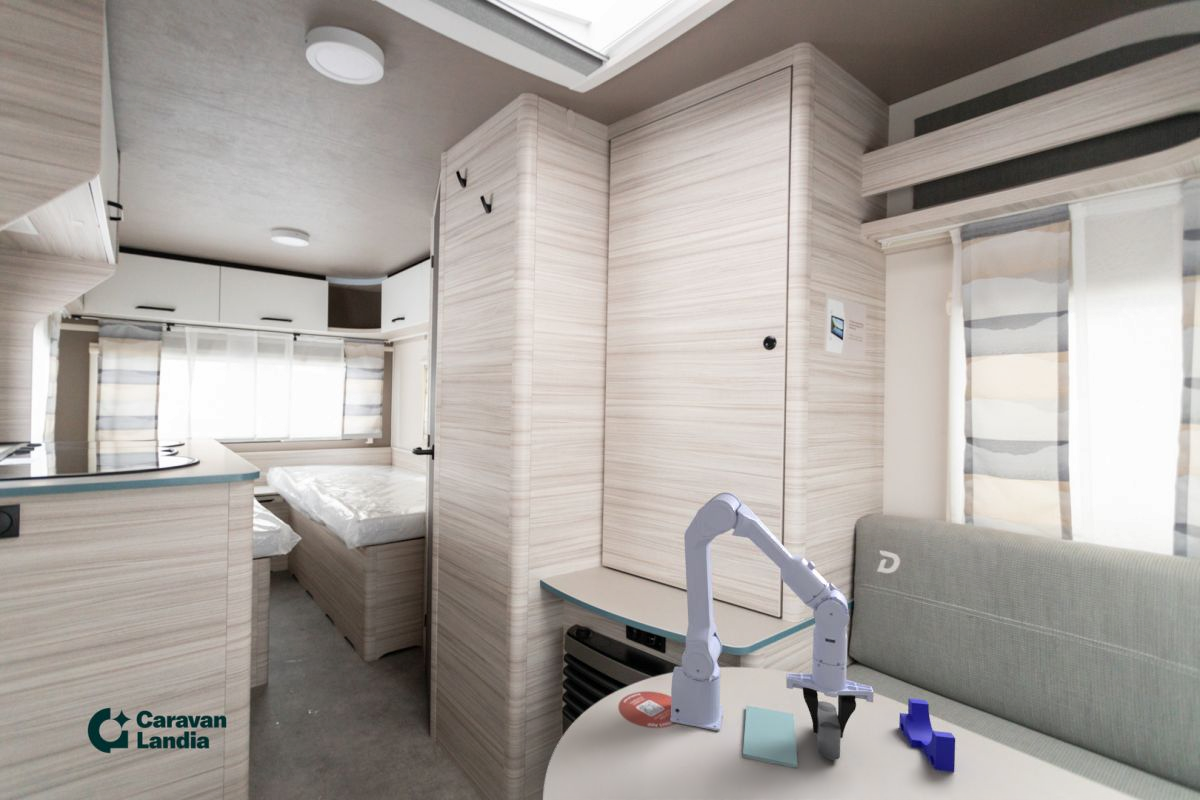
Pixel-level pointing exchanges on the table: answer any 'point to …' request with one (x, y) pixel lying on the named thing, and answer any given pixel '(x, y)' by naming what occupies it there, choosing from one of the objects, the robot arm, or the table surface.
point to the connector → (828, 731)
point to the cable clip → (928, 736)
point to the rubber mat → (770, 736)
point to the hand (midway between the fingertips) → (827, 732)
